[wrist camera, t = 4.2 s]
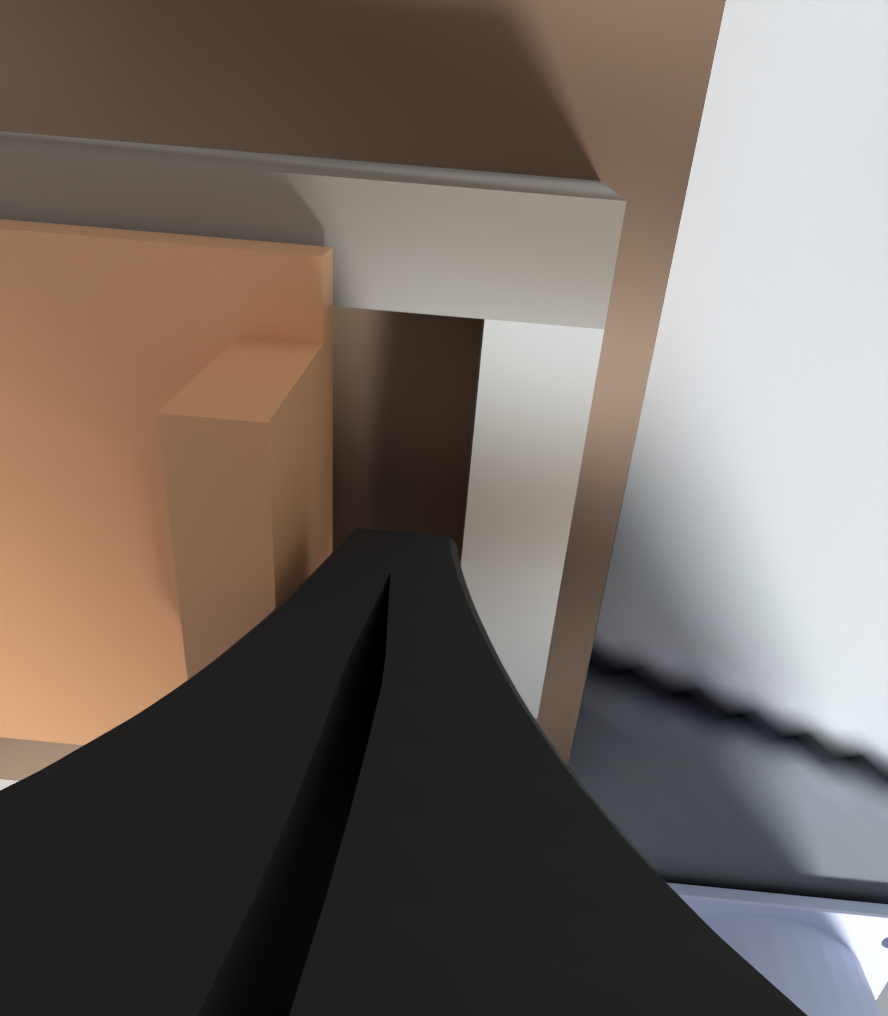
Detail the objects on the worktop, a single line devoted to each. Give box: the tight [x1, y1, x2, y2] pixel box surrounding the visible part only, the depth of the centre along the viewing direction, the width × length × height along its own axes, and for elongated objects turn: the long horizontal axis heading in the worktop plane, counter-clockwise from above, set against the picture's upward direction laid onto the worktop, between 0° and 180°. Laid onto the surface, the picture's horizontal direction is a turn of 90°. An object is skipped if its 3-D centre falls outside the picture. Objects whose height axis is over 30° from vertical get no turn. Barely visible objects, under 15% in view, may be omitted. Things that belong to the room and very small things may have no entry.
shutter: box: [0, 219, 333, 745], centre depth 10 cm, size 8×8×3 cm
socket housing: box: [0, 0, 726, 781], centre depth 13 cm, size 18×19×4 cm
